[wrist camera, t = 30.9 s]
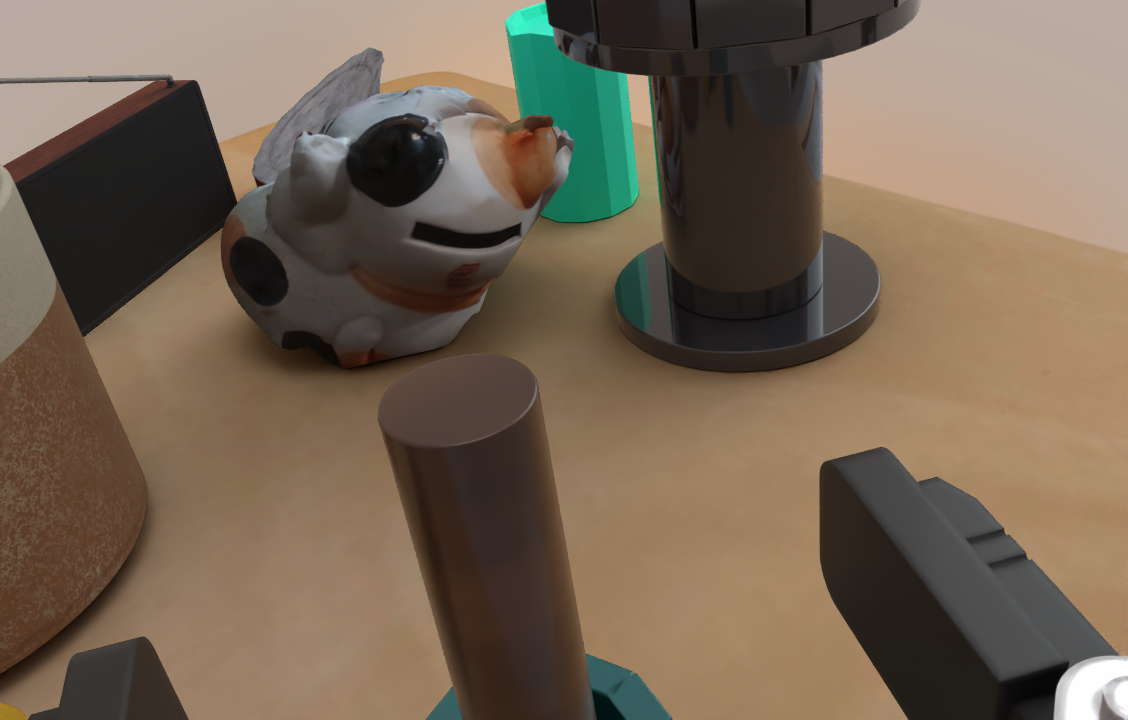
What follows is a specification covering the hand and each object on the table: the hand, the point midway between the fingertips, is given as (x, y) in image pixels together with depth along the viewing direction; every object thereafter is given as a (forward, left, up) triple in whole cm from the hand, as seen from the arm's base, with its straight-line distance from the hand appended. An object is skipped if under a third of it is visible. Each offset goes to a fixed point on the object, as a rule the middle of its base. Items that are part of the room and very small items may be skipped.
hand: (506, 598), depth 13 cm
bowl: (+12, -32, -16) cm, 38 cm away
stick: (+3, -3, -16) cm, 16 cm away
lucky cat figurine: (+27, -27, -16) cm, 41 cm away
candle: (+25, -40, -16) cm, 50 cm away
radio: (+45, -23, -16) cm, 53 cm away
